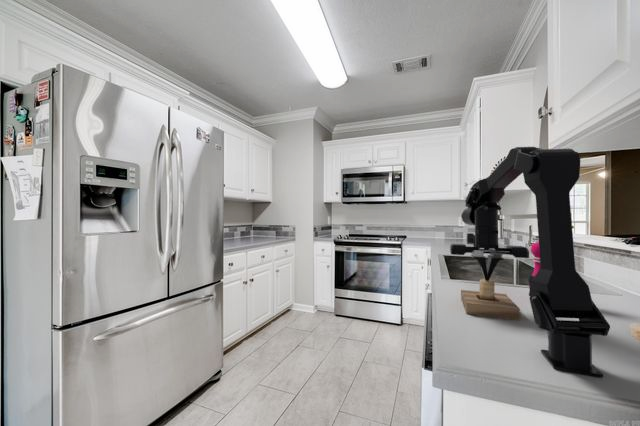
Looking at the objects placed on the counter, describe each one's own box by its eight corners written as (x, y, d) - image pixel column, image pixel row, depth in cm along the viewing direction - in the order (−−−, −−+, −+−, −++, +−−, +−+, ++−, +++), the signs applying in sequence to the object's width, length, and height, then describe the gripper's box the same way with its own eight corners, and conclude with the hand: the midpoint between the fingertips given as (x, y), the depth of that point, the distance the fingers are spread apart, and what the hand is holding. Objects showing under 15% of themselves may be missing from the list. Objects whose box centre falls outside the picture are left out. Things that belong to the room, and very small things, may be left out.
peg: (496, 311, 74) (495, 282, 74) (480, 309, 76) (480, 281, 76) (493, 307, 78) (493, 280, 78) (478, 305, 79) (478, 278, 79)
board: (519, 320, 68) (519, 308, 68) (466, 313, 72) (466, 302, 72) (505, 303, 81) (505, 293, 81) (461, 299, 85) (461, 289, 85)
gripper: (516, 225, 81) (517, 277, 80) (448, 225, 88) (449, 272, 88) (529, 227, 70) (530, 286, 70) (451, 226, 78) (451, 279, 77)
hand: (486, 280), depth 77 cm, fingers closed
